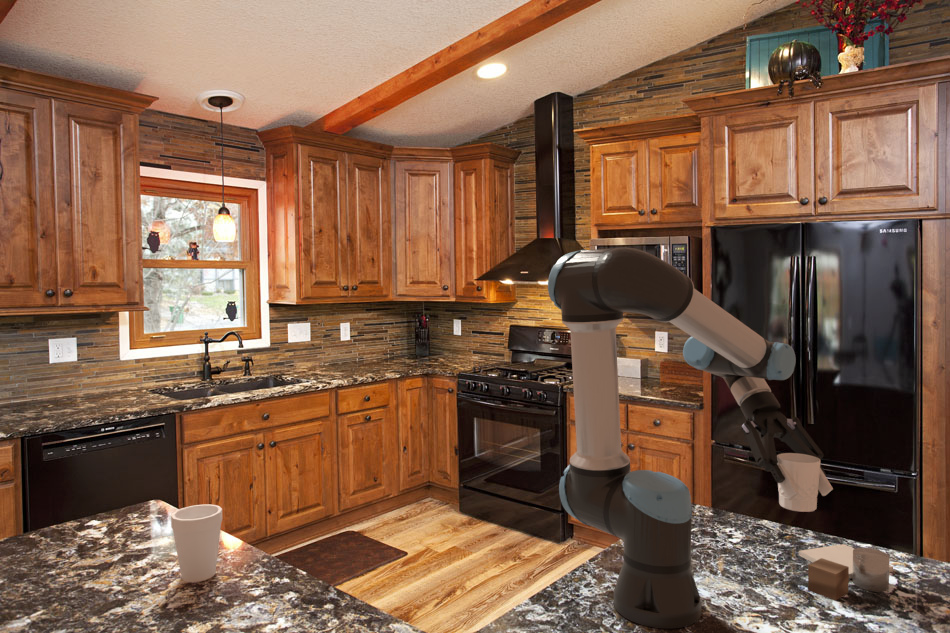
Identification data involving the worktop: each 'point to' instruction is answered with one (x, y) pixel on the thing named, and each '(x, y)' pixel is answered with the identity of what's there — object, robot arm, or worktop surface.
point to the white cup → (800, 481)
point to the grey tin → (871, 569)
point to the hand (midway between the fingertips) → (810, 494)
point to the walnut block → (828, 579)
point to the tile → (833, 555)
